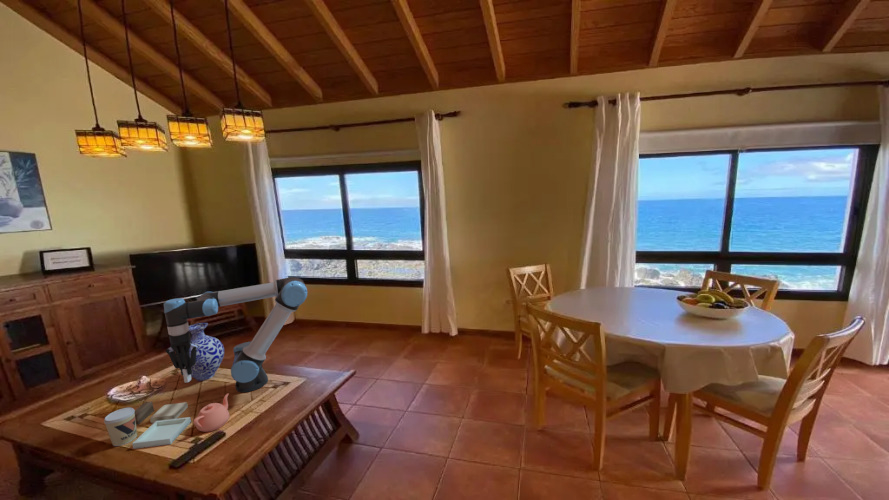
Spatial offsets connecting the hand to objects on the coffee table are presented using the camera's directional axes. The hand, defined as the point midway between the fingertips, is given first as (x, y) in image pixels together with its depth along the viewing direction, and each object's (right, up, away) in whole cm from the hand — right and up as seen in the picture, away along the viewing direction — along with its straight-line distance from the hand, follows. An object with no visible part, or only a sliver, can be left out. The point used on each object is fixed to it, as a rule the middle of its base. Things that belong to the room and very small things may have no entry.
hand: (188, 380), depth 160 cm
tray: (-1, -18, -13) cm, 22 cm away
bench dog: (-21, -17, 0) cm, 27 cm away
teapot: (+17, -17, -6) cm, 24 cm away
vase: (-16, -11, +35) cm, 41 cm away
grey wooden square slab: (-9, -17, +1) cm, 19 cm away
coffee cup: (-16, -19, -14) cm, 29 cm away
